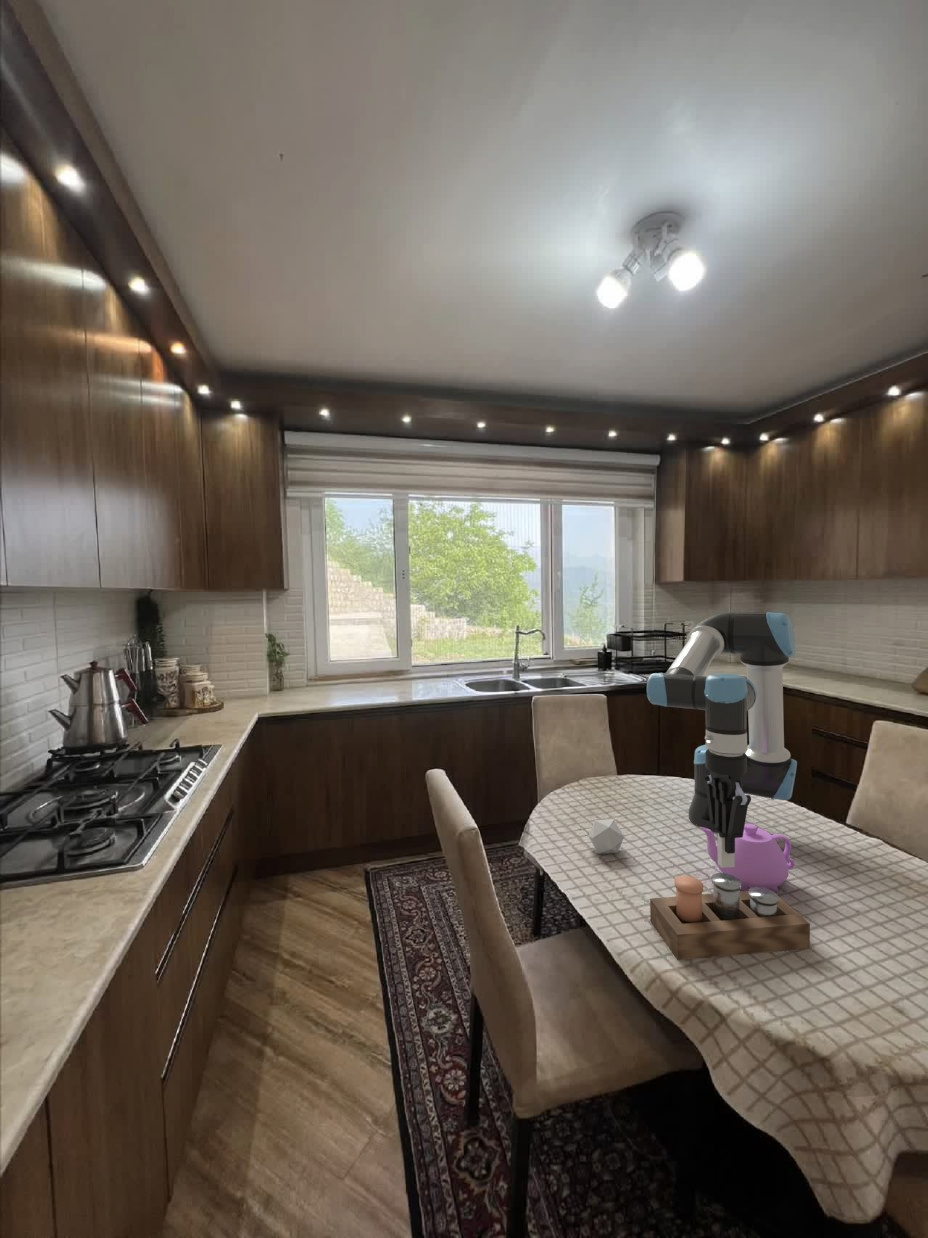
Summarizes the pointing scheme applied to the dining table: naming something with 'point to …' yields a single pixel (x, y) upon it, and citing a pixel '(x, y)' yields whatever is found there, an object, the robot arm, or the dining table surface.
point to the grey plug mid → (726, 895)
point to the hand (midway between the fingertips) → (726, 865)
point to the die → (606, 836)
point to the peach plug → (689, 898)
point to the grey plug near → (763, 901)
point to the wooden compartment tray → (728, 930)
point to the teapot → (755, 858)
